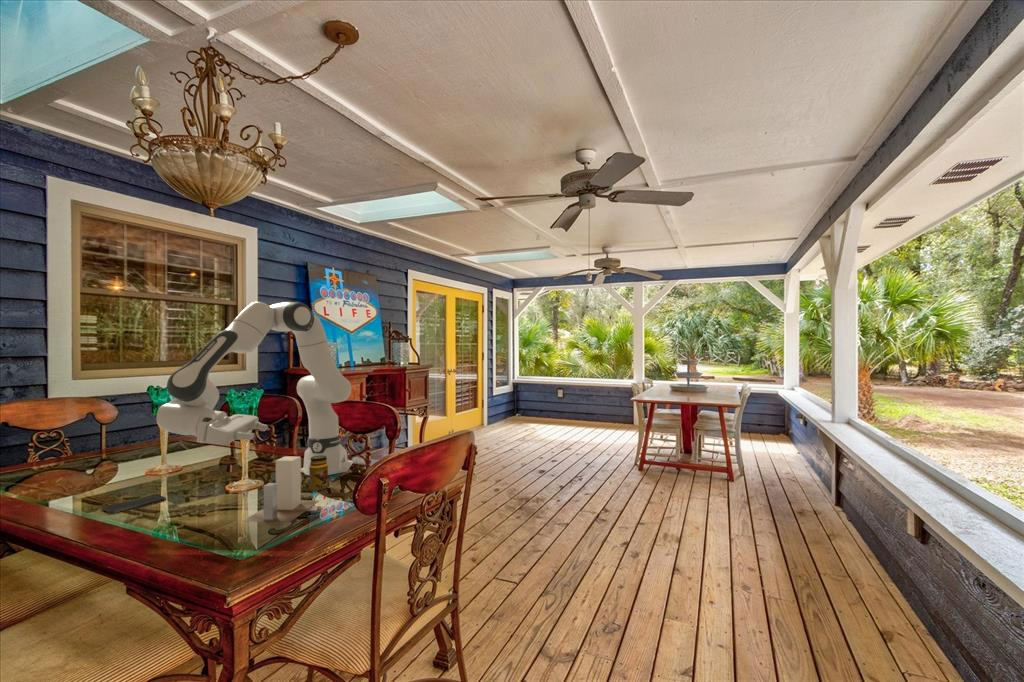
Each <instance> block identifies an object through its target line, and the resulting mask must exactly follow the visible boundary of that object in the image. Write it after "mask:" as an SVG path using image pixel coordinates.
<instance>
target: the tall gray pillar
mask: <svg viewBox="0 0 1024 682" xmlns="http://www.w3.org/2000/svg"><path fill="white" fill-rule="evenodd" d="M301 461H302V459H301V456H288V455H287V456H283V457H280V458H278V459H276V460H275V483H277V510H293V509H294V508H296V507H297V506H299V505H300V504H301V500H302V499H301V496H302V494H301V493H302V492H301V491H302V489H301V487H302V484H301V483H302V482H301V480H302V479H301V478H302V476H301V475H302V474H301V473H302V472H301V469H302V468H301V467H302V466H301V464H302V462H301Z"/></svg>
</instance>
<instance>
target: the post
mask: <svg viewBox="0 0 1024 682" xmlns="http://www.w3.org/2000/svg"><path fill="white" fill-rule="evenodd" d="M263 508H264V521H273V520H274V519H276V518H277V483H276V482H268V483H266V484H264V485H263Z"/></svg>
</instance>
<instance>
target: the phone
mask: <svg viewBox="0 0 1024 682" xmlns="http://www.w3.org/2000/svg"><path fill="white" fill-rule="evenodd" d="M164 500H166V501H167V497H165V496H162V495H160V494H151V495H146V496H142V497H139V498H135V499H131V500H127V501H126V500H125V501H121V502H118V503H113V504H110V505H106V506H102V507H101V511H102V510H104V511H106V512H108V513H115V514H118V513H117V512H119V513H121V512H120V511H123V512H126V511H125V510H127V511H129V510H128V509H131V510H134V509H133V508H135V509H138V508H137V507H139V508H142V507H141V506H143V507H145V506H144V505H147V506H149V505H148V504H151V505H153V504H152V503H155V502H159V501H163V502H165V501H164ZM159 503H160V502H159ZM155 504H156V503H155ZM104 511H103V512H104ZM106 512H105V513H106ZM108 513H107V514H108Z"/></svg>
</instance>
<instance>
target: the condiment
mask: <svg viewBox="0 0 1024 682" xmlns="http://www.w3.org/2000/svg"><path fill="white" fill-rule="evenodd" d="M310 464H311V465H310V466H309V475H308V476H309V477H308V478H309V479H308V481H309V482H308V483H309V485H308V486H309V491H315V492H317V491H322V490H326V489H328V488H329V475H328V464H327V457H326V456H323V455H319V456H313V457H311V462H310Z"/></svg>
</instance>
